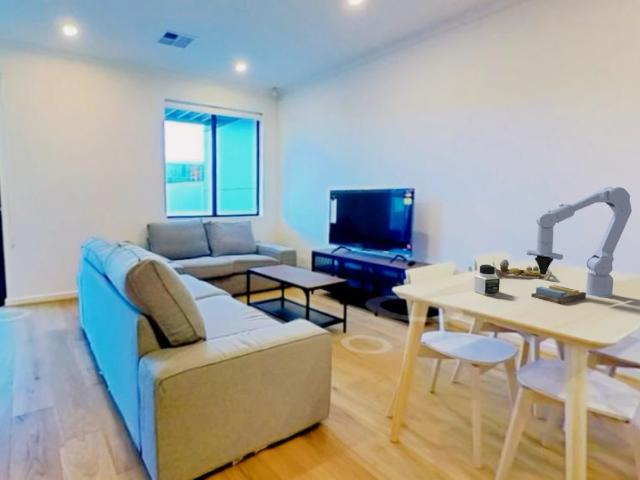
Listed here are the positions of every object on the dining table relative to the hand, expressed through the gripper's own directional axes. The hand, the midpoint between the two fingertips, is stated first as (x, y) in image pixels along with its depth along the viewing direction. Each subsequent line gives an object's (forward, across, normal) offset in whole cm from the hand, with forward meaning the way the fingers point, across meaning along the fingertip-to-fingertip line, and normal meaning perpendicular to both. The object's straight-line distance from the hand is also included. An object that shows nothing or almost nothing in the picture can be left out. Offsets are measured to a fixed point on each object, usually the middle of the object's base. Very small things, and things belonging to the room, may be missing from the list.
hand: (543, 274), depth 165 cm
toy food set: (+8, -25, +20) cm, 33 cm away
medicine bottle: (+8, -10, -22) cm, 25 cm away
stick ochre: (+7, +10, -1) cm, 12 cm away
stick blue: (+7, +9, -8) cm, 14 cm away
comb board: (+8, +10, -5) cm, 13 cm away
